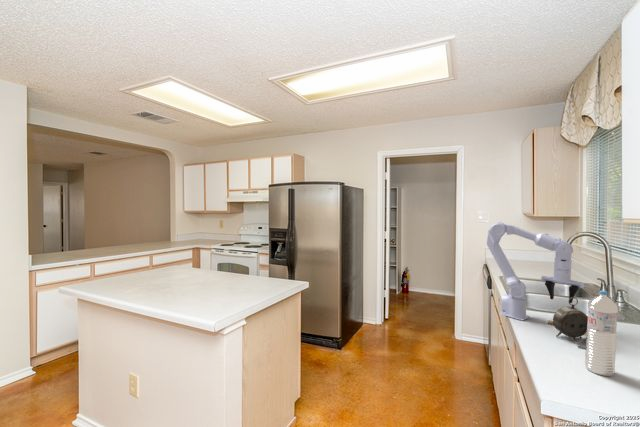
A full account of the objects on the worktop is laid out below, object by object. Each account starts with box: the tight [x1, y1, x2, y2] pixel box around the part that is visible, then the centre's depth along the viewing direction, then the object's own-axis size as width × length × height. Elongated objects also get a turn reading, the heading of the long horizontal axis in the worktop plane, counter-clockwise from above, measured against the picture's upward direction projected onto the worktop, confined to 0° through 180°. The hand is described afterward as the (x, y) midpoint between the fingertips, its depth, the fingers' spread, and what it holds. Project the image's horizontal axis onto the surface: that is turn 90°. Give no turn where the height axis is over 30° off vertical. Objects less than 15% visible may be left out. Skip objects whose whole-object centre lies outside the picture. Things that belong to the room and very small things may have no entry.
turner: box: [547, 320, 587, 335], centre depth 129 cm, size 14×4×1 cm, turn 38°
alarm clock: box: [552, 296, 588, 342], centre depth 118 cm, size 11×5×16 cm, turn 84°
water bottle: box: [584, 290, 619, 377], centre depth 95 cm, size 7×7×25 cm
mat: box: [577, 337, 586, 351], centre depth 113 cm, size 8×14×1 cm, turn 128°
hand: (561, 300), depth 132 cm, fingers open, 6 cm apart
